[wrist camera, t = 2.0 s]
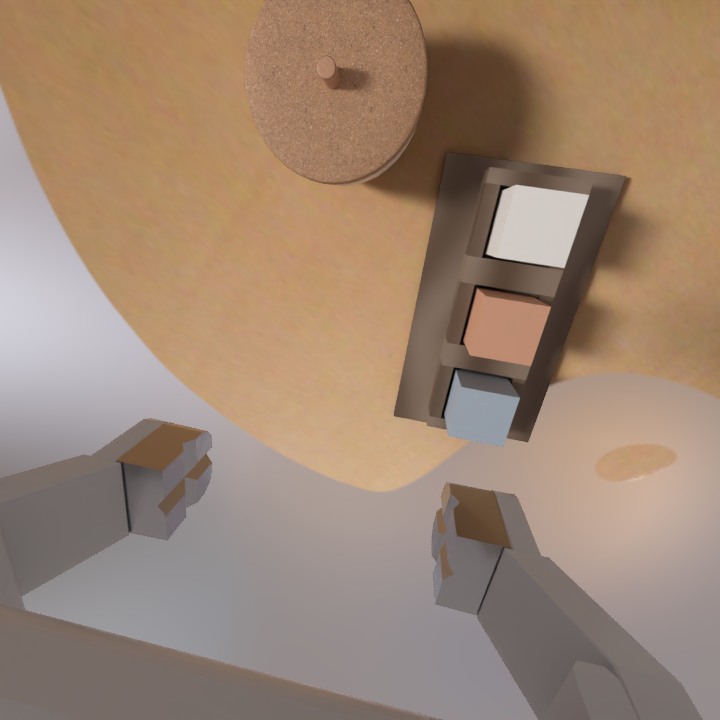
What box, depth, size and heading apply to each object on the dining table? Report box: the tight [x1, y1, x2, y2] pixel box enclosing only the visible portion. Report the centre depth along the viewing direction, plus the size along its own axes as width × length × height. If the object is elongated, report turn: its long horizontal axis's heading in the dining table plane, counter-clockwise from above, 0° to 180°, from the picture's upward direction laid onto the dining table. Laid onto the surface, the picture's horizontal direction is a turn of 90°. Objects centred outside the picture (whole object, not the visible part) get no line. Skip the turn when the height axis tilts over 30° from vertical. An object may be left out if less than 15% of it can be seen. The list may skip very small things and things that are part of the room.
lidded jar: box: [245, 0, 428, 186], centre depth 23 cm, size 11×11×9 cm
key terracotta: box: [463, 287, 551, 366], centre depth 27 cm, size 4×4×4 cm
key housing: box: [394, 152, 626, 442], centre depth 30 cm, size 13×23×3 cm, turn 172°
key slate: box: [444, 368, 520, 447], centre depth 30 cm, size 4×4×4 cm
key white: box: [485, 185, 589, 268], centre depth 25 cm, size 4×4×4 cm
